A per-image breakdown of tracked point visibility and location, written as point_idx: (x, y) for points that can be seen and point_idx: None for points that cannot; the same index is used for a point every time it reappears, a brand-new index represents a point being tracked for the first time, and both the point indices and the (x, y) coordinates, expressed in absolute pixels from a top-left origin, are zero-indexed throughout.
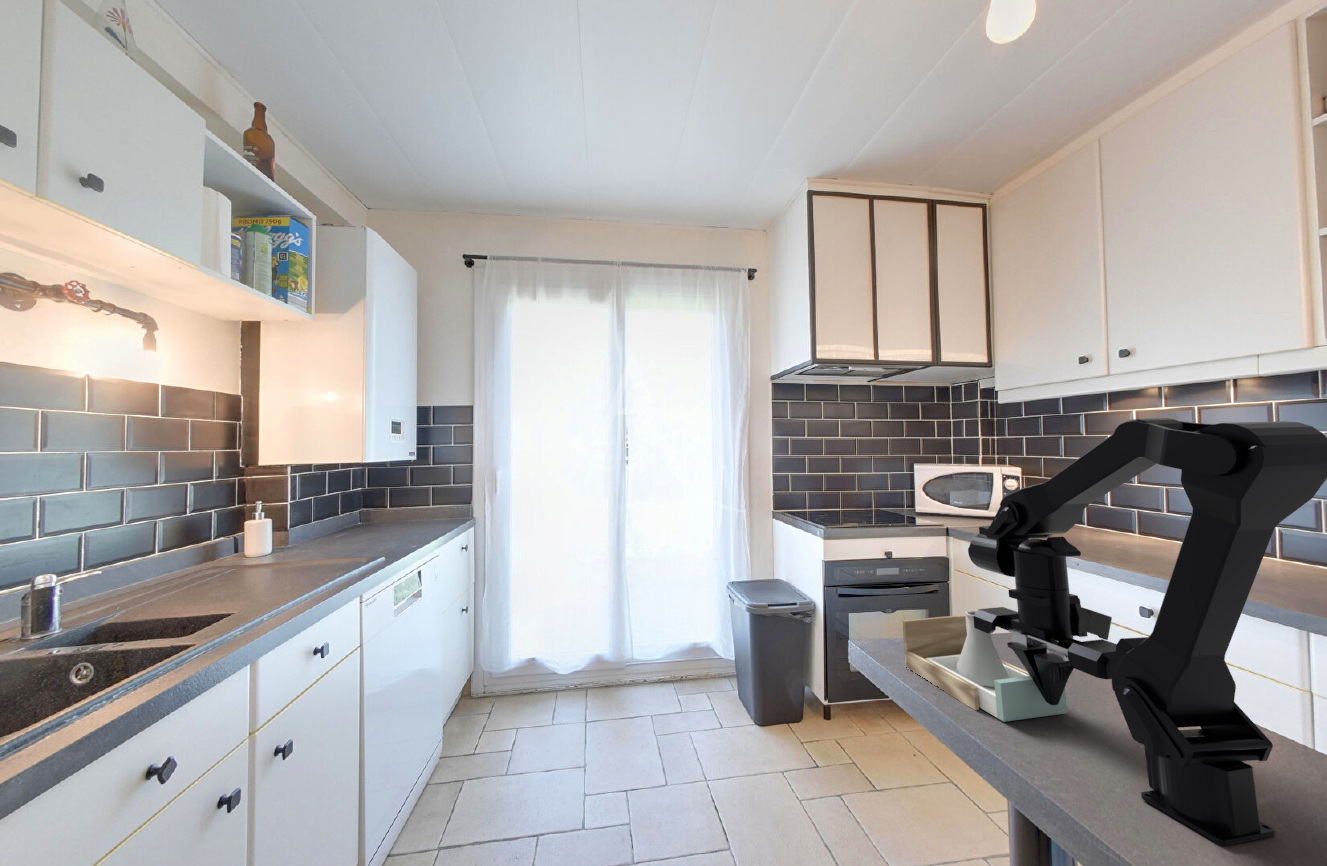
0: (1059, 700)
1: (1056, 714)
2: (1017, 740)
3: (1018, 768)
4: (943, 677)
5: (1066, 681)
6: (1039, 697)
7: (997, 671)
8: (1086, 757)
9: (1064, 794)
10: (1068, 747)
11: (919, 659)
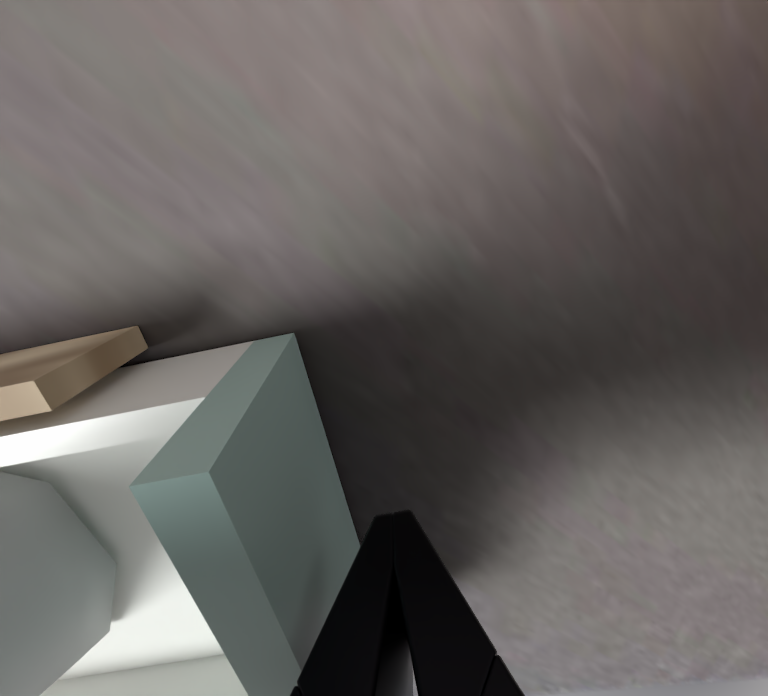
0: (418, 525)
1: (314, 398)
2: (489, 619)
3: (618, 679)
4: None
5: (509, 672)
6: (327, 551)
7: (6, 624)
8: (624, 497)
9: (741, 649)
10: (556, 509)
11: None
